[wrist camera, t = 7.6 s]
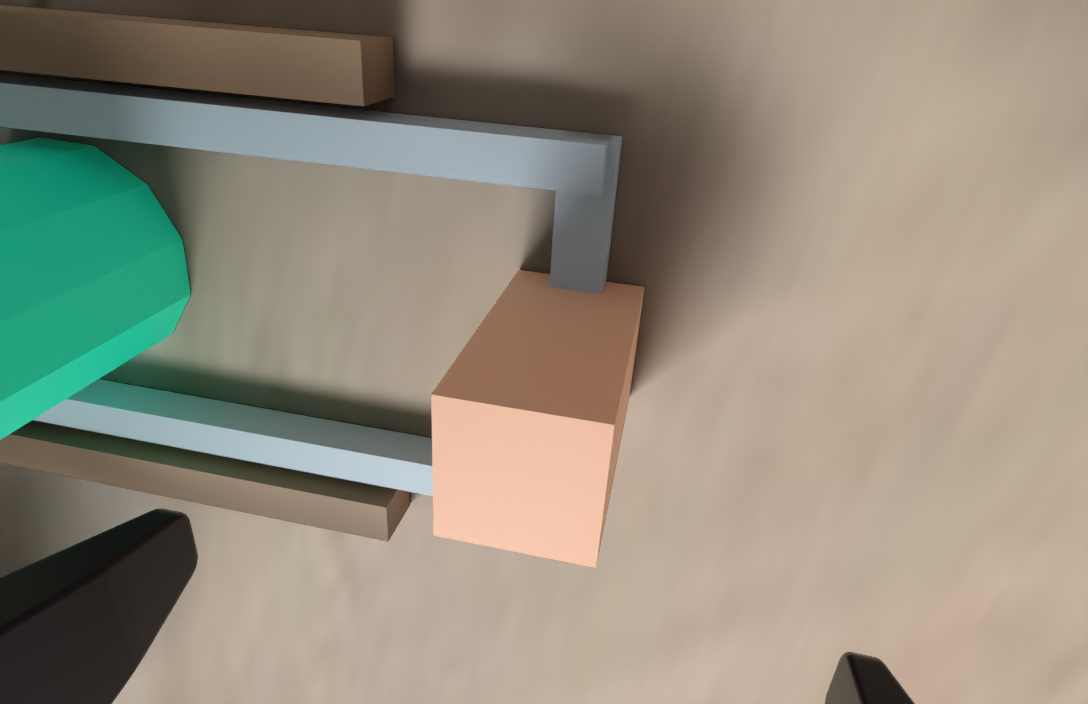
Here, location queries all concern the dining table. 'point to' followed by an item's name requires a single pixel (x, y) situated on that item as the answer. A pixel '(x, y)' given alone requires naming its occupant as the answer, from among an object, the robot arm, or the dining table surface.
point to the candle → (78, 273)
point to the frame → (480, 369)
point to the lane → (223, 66)
